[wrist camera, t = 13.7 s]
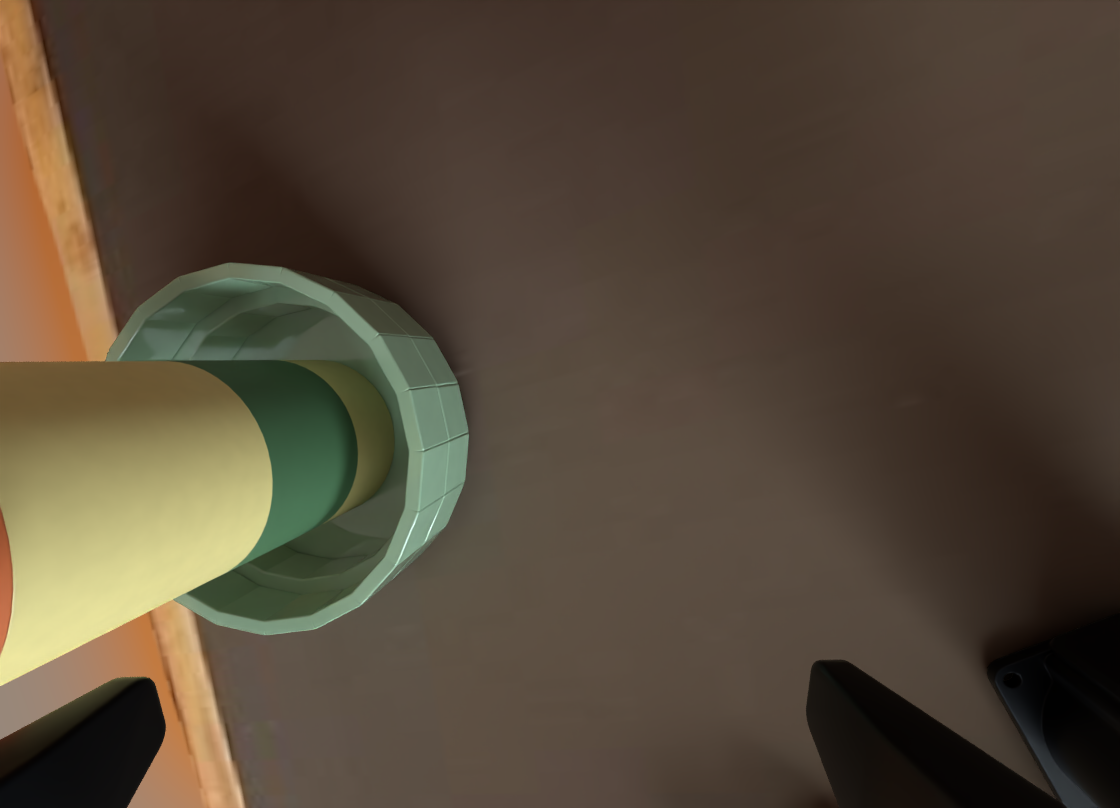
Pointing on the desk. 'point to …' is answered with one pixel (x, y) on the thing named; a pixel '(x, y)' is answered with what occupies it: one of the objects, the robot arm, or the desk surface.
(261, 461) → the snack canister
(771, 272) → the desk surface
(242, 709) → the desk surface
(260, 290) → the bowl
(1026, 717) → the robot arm
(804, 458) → the desk surface
